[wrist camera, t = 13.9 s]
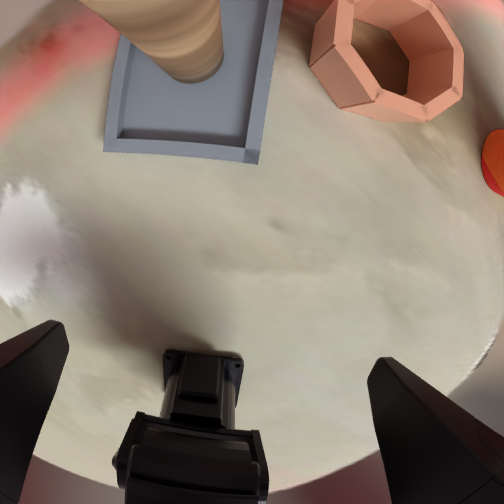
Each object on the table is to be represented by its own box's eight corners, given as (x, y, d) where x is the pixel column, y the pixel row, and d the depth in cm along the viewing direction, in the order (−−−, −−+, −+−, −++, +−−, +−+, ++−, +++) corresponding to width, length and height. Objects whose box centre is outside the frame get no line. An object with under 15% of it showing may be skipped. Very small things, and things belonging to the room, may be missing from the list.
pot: (411, 131, 16) (457, 135, 12) (303, 100, 15) (327, 89, 11) (420, 35, 13) (462, 20, 9) (317, -2, 13) (341, -37, 8)
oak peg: (231, 73, 14) (234, -55, 3) (172, 92, 14) (49, 19, 3) (214, 23, 13) (193, -129, 1) (156, 42, 13) (47, -70, 2)
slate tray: (256, 162, 17) (257, 164, 15) (113, 150, 16) (103, 151, 15) (283, -11, 12) (287, -22, 11) (144, -17, 12) (138, -26, 10)
